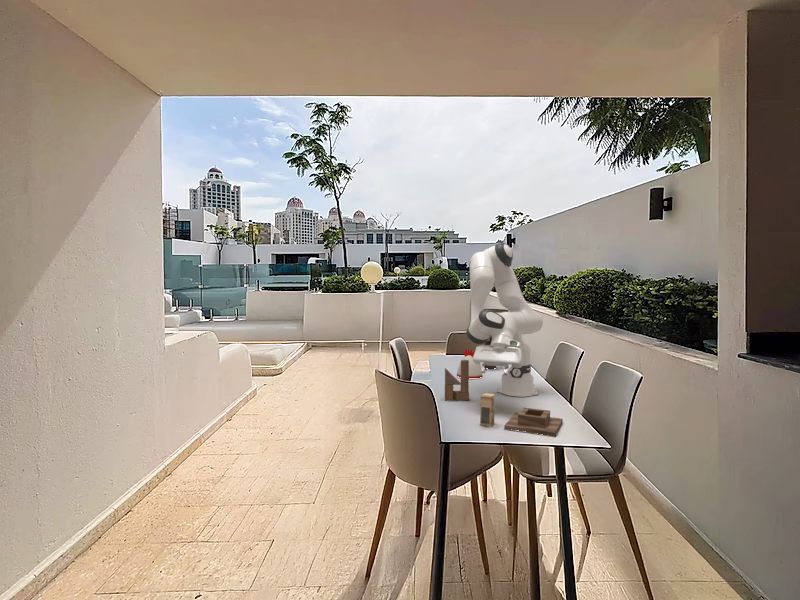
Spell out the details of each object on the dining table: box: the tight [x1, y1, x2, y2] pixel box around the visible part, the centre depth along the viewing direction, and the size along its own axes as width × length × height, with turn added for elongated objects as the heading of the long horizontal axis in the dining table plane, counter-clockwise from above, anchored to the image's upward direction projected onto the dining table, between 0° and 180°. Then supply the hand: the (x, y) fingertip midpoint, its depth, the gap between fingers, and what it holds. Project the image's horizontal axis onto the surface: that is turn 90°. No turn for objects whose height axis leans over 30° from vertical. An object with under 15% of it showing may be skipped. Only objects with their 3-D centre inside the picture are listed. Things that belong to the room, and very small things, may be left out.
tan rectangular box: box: [479, 392, 496, 427], centre depth 185 cm, size 5×4×11 cm
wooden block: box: [444, 359, 470, 401], centre depth 220 cm, size 4×11×18 cm, turn 90°
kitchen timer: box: [456, 349, 483, 379], centre depth 269 cm, size 14×14×15 cm
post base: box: [503, 407, 564, 437], centre depth 183 cm, size 18×18×5 cm
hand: (494, 373), depth 196 cm, fingers open, 8 cm apart
